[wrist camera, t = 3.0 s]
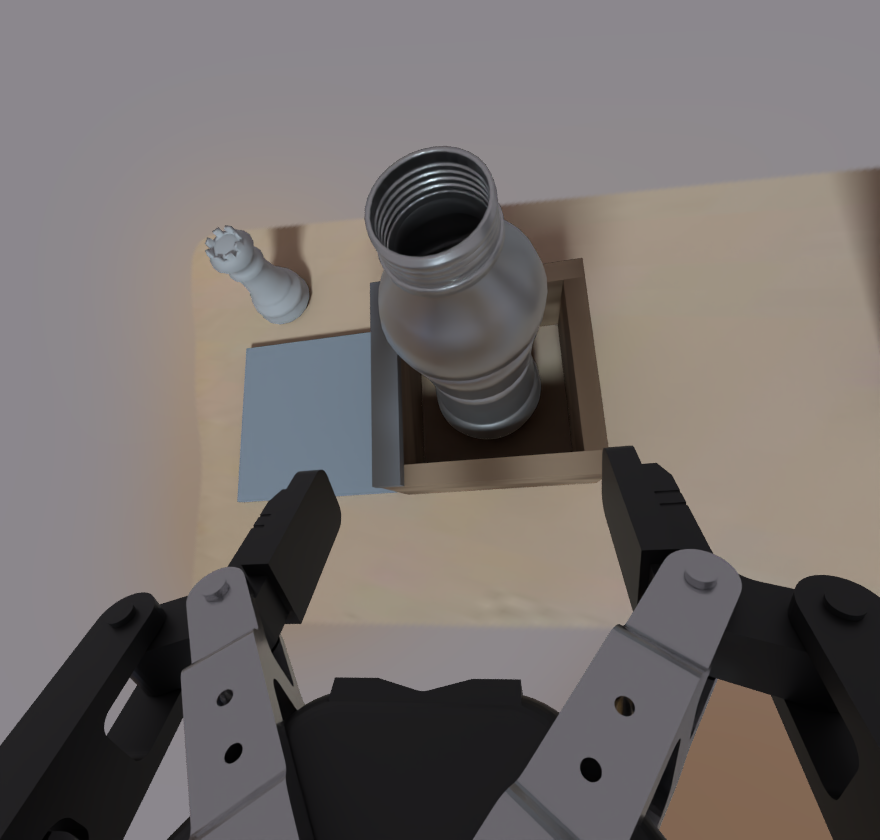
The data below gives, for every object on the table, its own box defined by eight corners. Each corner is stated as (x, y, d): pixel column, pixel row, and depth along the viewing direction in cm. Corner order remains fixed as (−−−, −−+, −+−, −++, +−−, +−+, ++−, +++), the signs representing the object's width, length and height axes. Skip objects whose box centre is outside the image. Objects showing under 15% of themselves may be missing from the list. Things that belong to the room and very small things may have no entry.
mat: (393, 332, 34) (391, 329, 33) (397, 492, 31) (395, 491, 30) (251, 351, 36) (246, 348, 35) (242, 502, 33) (237, 501, 33)
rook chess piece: (278, 270, 37) (212, 205, 30) (321, 286, 36) (265, 222, 28) (253, 316, 37) (179, 262, 29) (296, 334, 36) (231, 282, 28)
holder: (573, 306, 31) (584, 249, 25) (595, 482, 29) (614, 470, 22) (401, 329, 34) (369, 282, 27) (406, 494, 31) (372, 486, 24)
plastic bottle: (428, 387, 32) (278, 190, 13) (509, 338, 32) (474, 61, 13) (473, 463, 30) (373, 362, 11) (559, 412, 30) (607, 216, 11)
